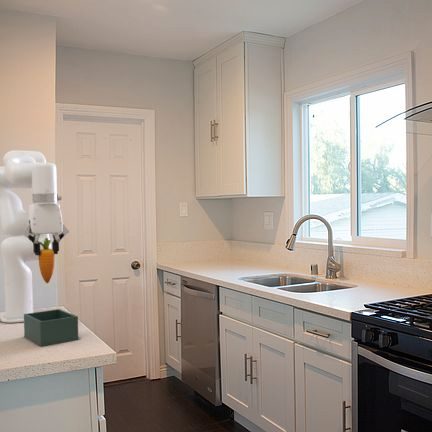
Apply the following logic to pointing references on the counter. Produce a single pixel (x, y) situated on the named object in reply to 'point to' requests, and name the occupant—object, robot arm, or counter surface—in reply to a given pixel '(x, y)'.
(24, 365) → the counter surface
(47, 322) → the bin
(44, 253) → the carrot
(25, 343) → the counter surface
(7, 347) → the counter surface
